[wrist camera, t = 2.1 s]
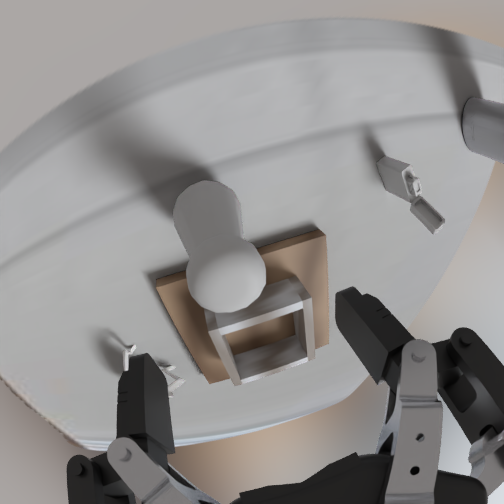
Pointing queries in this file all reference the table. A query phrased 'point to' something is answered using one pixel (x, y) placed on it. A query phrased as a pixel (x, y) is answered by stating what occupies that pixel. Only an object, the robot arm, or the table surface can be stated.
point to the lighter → (409, 191)
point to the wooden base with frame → (259, 315)
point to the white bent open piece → (172, 385)
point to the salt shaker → (217, 248)
